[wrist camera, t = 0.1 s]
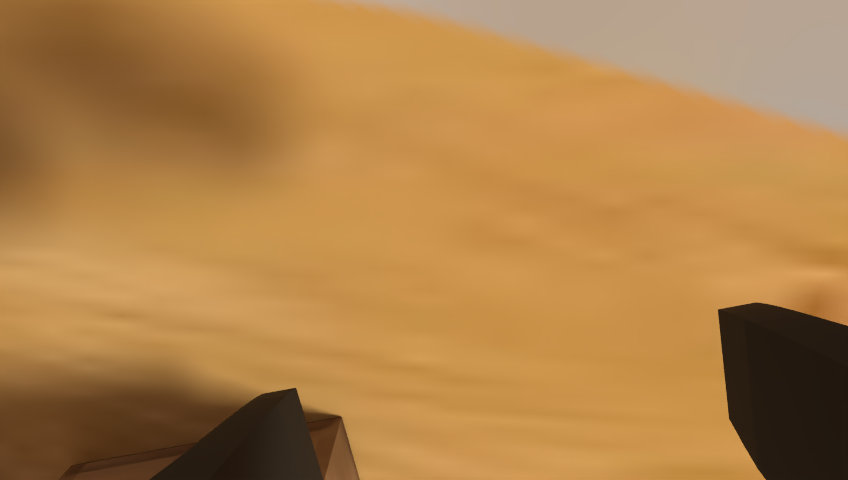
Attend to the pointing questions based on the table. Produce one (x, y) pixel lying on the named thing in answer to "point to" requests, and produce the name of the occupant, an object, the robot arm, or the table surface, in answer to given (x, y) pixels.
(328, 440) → the box
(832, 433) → the robot arm
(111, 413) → the table surface
